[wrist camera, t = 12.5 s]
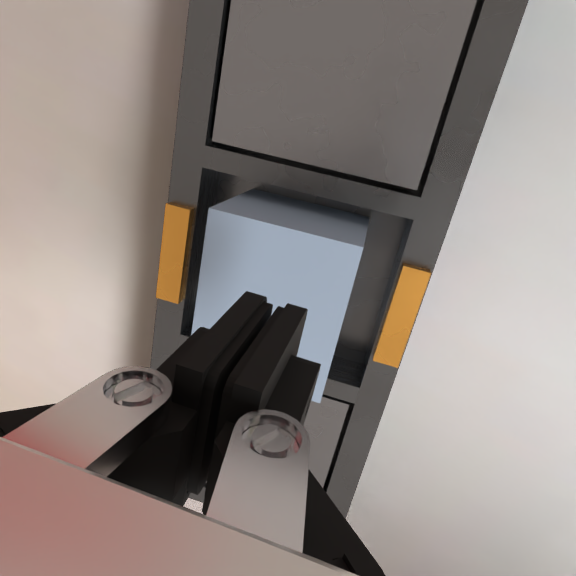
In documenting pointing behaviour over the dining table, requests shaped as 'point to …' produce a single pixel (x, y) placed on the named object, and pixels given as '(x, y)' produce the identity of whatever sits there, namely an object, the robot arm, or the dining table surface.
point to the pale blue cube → (282, 265)
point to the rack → (334, 166)
